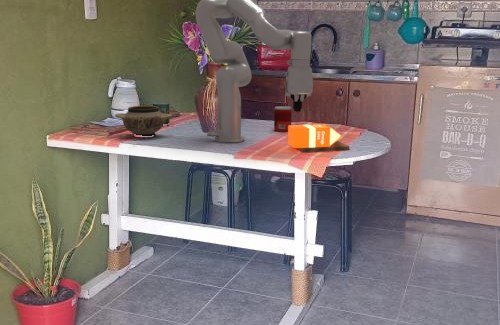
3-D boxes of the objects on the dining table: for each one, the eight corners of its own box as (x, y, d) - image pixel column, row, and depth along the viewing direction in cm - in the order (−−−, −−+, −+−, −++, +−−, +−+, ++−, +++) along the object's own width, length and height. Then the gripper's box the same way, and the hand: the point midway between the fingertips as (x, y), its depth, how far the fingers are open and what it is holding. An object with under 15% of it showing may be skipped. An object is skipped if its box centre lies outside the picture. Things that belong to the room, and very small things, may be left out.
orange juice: (288, 144, 240) (335, 142, 244) (294, 148, 231) (343, 146, 235) (288, 124, 238) (335, 123, 242) (294, 128, 230) (343, 126, 234)
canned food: (294, 131, 278) (295, 107, 275) (280, 132, 273) (281, 108, 271) (284, 128, 284) (284, 105, 281) (270, 130, 280) (271, 107, 277)
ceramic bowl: (174, 140, 267) (175, 106, 268) (169, 137, 250) (169, 101, 250) (119, 139, 267) (120, 106, 268) (110, 136, 250) (111, 101, 250)
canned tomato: (173, 125, 289) (172, 103, 287) (159, 127, 284) (158, 104, 281) (163, 123, 295) (163, 101, 292) (150, 125, 289) (149, 102, 287)
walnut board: (302, 152, 231) (302, 148, 231) (288, 144, 246) (288, 140, 246) (349, 149, 237) (349, 146, 236) (333, 142, 252) (333, 138, 251)
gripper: (284, 64, 224) (282, 112, 229) (321, 65, 228) (318, 112, 233) (278, 62, 231) (276, 109, 236) (314, 63, 235) (311, 109, 240)
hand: (297, 111), depth 234 cm, fingers closed
